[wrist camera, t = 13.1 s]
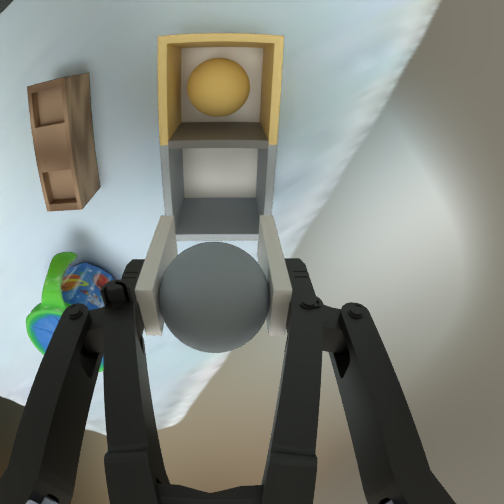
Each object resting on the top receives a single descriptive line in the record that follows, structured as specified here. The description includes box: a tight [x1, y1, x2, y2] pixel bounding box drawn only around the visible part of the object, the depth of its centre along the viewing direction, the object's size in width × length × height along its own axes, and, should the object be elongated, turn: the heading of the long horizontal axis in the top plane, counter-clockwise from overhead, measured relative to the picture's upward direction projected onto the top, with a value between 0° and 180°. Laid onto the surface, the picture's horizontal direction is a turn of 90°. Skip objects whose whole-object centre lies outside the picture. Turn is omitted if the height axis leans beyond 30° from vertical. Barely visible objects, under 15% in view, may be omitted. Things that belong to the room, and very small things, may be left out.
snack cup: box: [26, 252, 114, 372], centre depth 32 cm, size 16×10×10 cm
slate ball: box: [159, 242, 270, 353], centre depth 14 cm, size 5×5×5 cm
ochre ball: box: [187, 58, 250, 117], centre depth 23 cm, size 5×5×5 cm
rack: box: [27, 73, 100, 211], centre depth 24 cm, size 12×4×5 cm, turn 178°
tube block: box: [158, 33, 284, 241], centre depth 24 cm, size 16×8×8 cm, turn 178°
